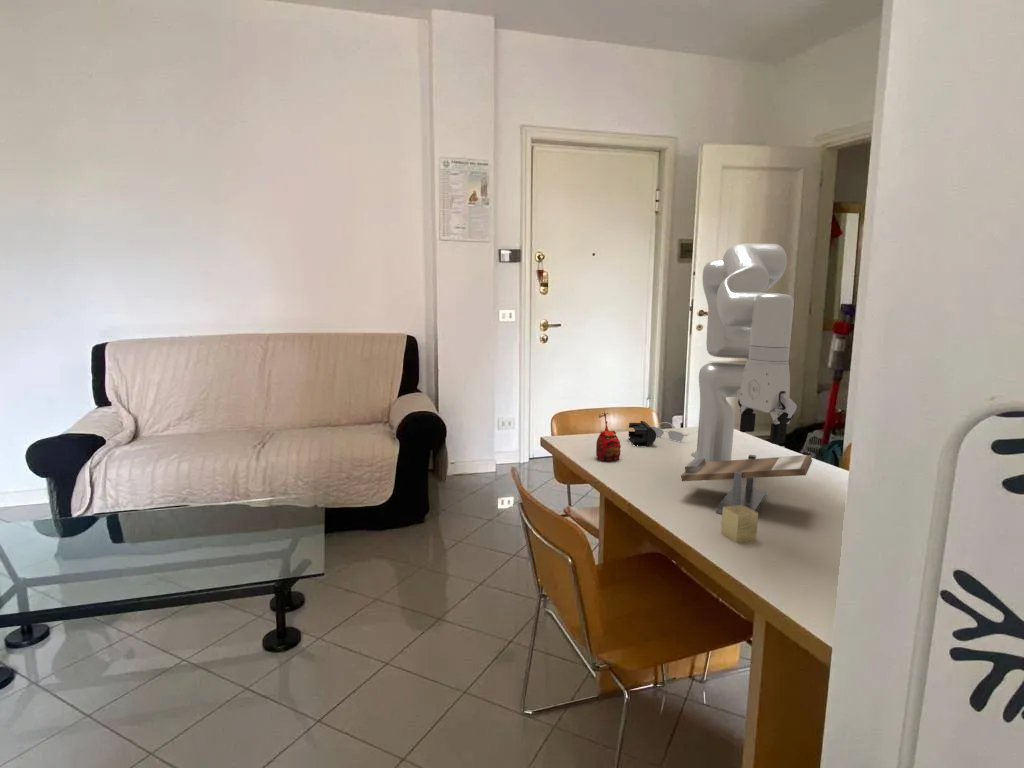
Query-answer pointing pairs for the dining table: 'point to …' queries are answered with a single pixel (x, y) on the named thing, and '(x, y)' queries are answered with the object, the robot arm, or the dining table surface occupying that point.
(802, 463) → the balance beam
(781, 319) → the robot arm
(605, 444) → the red clay folk toy
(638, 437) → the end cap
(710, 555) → the dining table surface
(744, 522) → the tan wooden cube
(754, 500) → the beam stand
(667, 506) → the dining table surface
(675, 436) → the eyeglasses
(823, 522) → the dining table surface
